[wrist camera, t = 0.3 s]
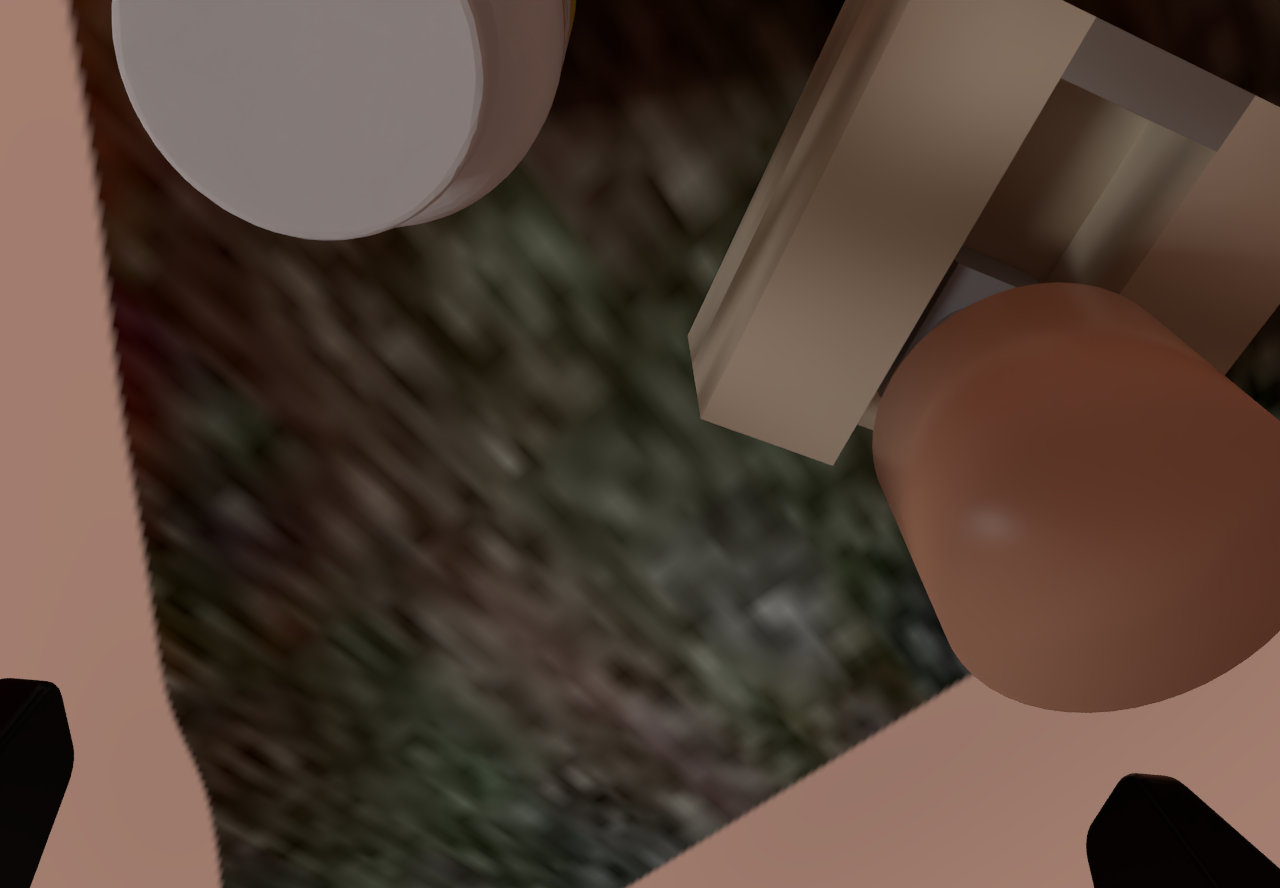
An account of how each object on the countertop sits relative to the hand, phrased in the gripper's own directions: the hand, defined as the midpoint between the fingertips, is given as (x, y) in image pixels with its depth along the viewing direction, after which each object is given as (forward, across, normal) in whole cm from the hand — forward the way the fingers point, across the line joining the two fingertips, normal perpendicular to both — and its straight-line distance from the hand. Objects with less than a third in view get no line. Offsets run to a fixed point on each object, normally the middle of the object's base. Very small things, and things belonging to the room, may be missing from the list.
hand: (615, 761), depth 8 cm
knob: (+13, -7, +1) cm, 15 cm away
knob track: (+15, -8, 0) cm, 17 cm away
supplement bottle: (+16, +4, -3) cm, 16 cm away
